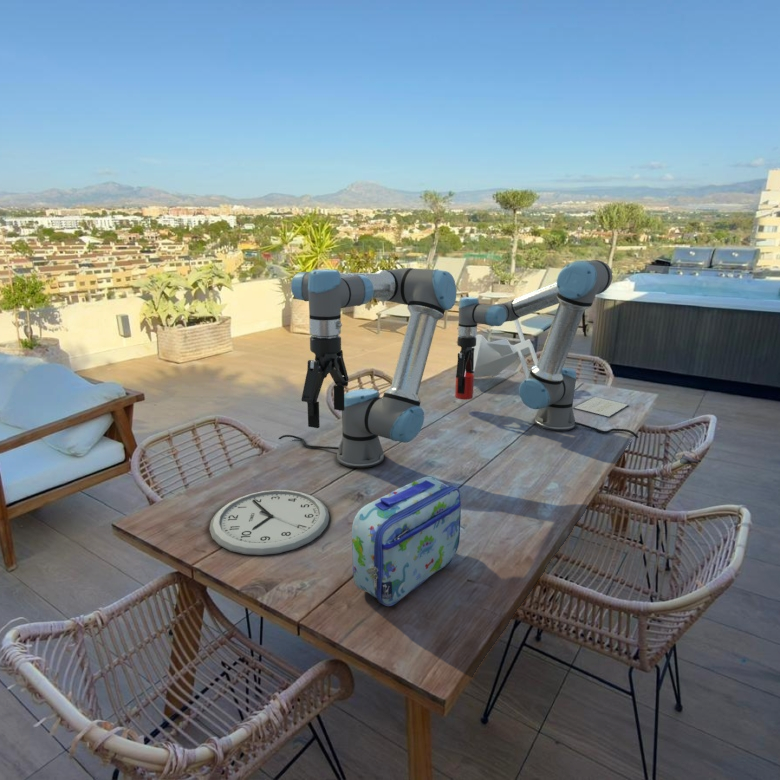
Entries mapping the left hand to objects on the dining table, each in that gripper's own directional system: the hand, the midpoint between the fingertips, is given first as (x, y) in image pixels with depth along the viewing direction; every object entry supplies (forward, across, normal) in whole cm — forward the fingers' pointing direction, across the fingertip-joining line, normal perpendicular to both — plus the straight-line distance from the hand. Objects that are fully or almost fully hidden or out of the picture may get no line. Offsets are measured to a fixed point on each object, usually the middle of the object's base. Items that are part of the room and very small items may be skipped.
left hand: (327, 418), depth 132 cm
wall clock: (+26, -10, +11) cm, 31 cm away
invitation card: (+26, +123, -68) cm, 143 cm away
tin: (+21, +94, -14) cm, 98 cm away
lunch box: (+26, -19, -29) cm, 43 cm away
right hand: (+18, +94, -14) cm, 97 cm away
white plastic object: (+26, +136, -21) cm, 140 cm away
